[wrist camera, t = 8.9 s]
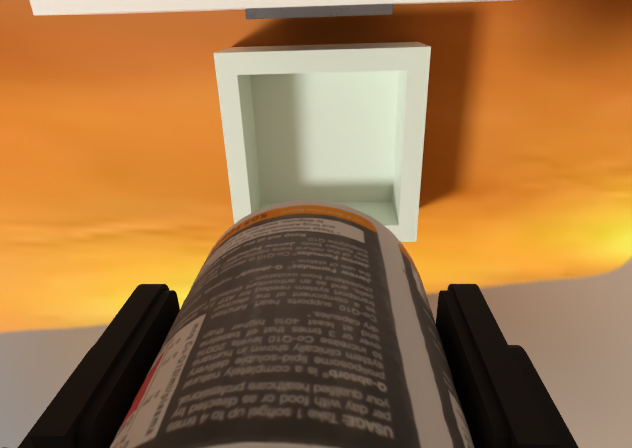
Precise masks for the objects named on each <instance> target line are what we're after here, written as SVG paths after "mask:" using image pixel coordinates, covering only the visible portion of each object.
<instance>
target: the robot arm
mask: <svg viewBox="0 0 632 448" xmlns="http://www.w3.org/2000/svg"><path fill="white" fill-rule="evenodd" d="M179 311H180V308H179V303H178V298H177V294H176V292H175V291H169V288H168V286H167V285H165V284H141V285H139V286H138V287H137V288H136V289H135V290H134V292H133V293H132V294H131V296H130V297H129V299H128V300H127V301H126V303H125V304H124V305H123V307H122V308H121V310H120V311H119V312H118V314H117V315H116V316H115V318H114V319H113V321H112V322H111V323H110V325H109V326H108V327H107V329H106V330H105V331H104V333H103V334H102V336H101V337H100V338H99V340H98V341H97V342H96V344H95V345H94V346H93V347H92V348H91V349H90V350H89V351H88V353H87V354H86V355H85V357H84V358H83V359H82V361H81V362H80V364H79V365H78V366H77V368H76V369H75V371H74V372H73V373H72V374H71V376H70V377H69V379H68V380H67V381H66V383H65V384H64V385H63V387H62V388H61V390H60V391H59V392H58V394H57V395H56V397H55V398H54V399H53V400H52V402H51V403H50V404H49V406H48V407H47V409H46V410H45V411H44V413H43V414H42V416H41V417H40V418H39V419H38V421H37V422H36V424H35V425H34V426H33V428H32V429H31V430H30V432H29V433H28V434H27V436H26V437H25V438H24V440H23V441H22V443H21V444H20V445H19V447H18V448H110V446H111V444H112V443H113V441H114V439H115V437H116V435H117V433H118V431H119V429H120V427H121V425H122V423H123V421H124V419H125V417H126V416H127V414H128V412H129V410H130V408H131V406H132V404H133V402H134V399H135V397H136V395H137V394H138V392H139V390H140V388H141V386H142V385H143V383H144V381H145V379H146V376H147V374H148V373H149V371H150V369H151V367H152V365H153V363H154V361H155V359H156V357H157V355H158V354H159V352H160V350H161V348H162V345H163V343H164V341H165V339H166V337H167V335H168V333H169V331H170V329H171V327H172V325H173V323H174V321H175V319H176V317H177V315H178V313H179ZM436 327H437V330H438V333H439V335H440V338H441V341H442V344H443V348H444V351H445V354H446V358H447V361H448V365H449V368H450V371H451V374H452V378H453V382H454V385H455V389H456V393H457V395H458V398H459V401H460V404H461V407H462V410H463V413H464V416H465V419H466V421H467V424H468V427H469V431H470V434H471V438H472V441H473V445H474V448H578V446H577V444H576V442H575V440H574V438H573V437H572V435H571V433H570V431H569V429H568V428H567V426H566V424H565V422H564V420H563V418H562V417H561V415H560V413H559V411H558V409H557V408H556V406H555V404H554V402H553V400H552V399H551V397H550V395H549V393H548V391H547V389H546V388H545V386H544V384H543V382H542V380H541V379H540V377H539V375H538V373H537V371H536V369H535V368H534V366H533V364H532V362H531V360H530V359H529V357H528V355H527V353H526V352H525V350H524V349H523V348H522V347H521V346H519V345H508V344H507V342H506V340H505V338H504V337H503V334H502V332H501V330H500V328H499V326H498V324H497V322H496V320H495V318H494V316H493V314H492V313H491V311H490V309H489V307H488V305H487V303H486V301H485V299H484V297H483V295H482V293H481V291H480V289H479V287H478V286H477V285H476V284H450V285H449V286H448V290H447V291H440V293H439V298H438V307H437V318H436ZM4 448H5V447H4Z"/></svg>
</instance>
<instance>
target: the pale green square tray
mask: <svg viewBox="0 0 632 448" xmlns="http://www.w3.org/2000/svg"><path fill="white" fill-rule="evenodd" d="M430 54H431V47H430V46H428V45H425V44H423V43H420V42H386V43H352V44H318V45H284V46H250V47H230V48H227V49H224V50H221V51H218V52H215V53H214V60H215V68H216V77H217V85H218V93H219V101H220V109H221V118H222V126H223V134H224V142H225V151H226V159H227V167H228V175H229V184H230V192H231V200H232V208H233V217H234V224H235V223H237V222H238V221H239V220H240V219H242V218H244V217H245V216H247V215H249V214H251V213H253V212H255V211H258V210H260V209H262V208H265V207H267V206H271V205H274V204H277V203H282V202H287V201H294V200H314V201H325V202H331V203H336V204H341V205H346V206H348V207H351V208H353V209H355V210H358V211H360V212H362V213H365V214H367V215H369V216H371V217H372V218H374V219H375V220H377V221H378V222H380V223H381V224H383V225H384V226H385V227H386V228H388V229H389V230H390V231H391V232H392V233H393V234H394V235H395V236H396V237H397V239H398V240H399V241H400V242H416V238H417V225H418V212H419V198H420V185H421V172H422V159H423V146H424V133H425V120H426V106H427V93H428V80H429V67H430Z"/></svg>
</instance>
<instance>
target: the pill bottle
mask: <svg viewBox="0 0 632 448" xmlns="http://www.w3.org/2000/svg"><path fill="white" fill-rule="evenodd" d="M110 448H474V445H473V441H472V438H471V434H470V431H469V427H468V424H467V421H466V419H465V416H464V413H463V410H462V407H461V404H460V401H459V398H458V395H457V393H456V389H455V385H454V382H453V378H452V374H451V371H450V368H449V365H448V361H447V358H446V354H445V351H444V348H443V344H442V341H441V338H440V335H439V333H438V330H437V327H436V324H435V321H434V318H433V314H432V311H431V308H430V305H429V302H428V299H427V296H426V292H425V289H424V287H423V283H422V280H421V278H420V275H419V273H418V271H417V269H416V267H415V264H414V262H413V260H412V258H411V256H410V255H409V253H408V252H407V250H406V249H405V248H404V246H403V245H402V244H401V242H400V241H399V240H398V239H397V237H396V236H395V235H394V234H393V233H392V232H391V231H390V230H389V229H388V228H386V227H385V226H384V225H383V224H381V223H380V222H378V221H377V220H375V219H374V218H372V217H371V216H369V215H367V214H365V213H362V212H360V211H358V210H355V209H353V208H351V207H348V206H346V205H341V204H336V203H331V202H325V201H314V200H294V201H287V202H282V203H277V204H274V205H271V206H267V207H265V208H262V209H260V210H258V211H255V212H253V213H251V214H249V215H247V216H245V217H244V218H242V219H240V220H239V221H238V222H237V223H235V224H234V225H233V226H232V227H231V228H229V229H228V230H227V231H226V232H225V233H224V234H223V235H222V237H221V238H220V239H219V240H218V241H217V243H216V244H215V246H214V247H213V248H212V250H211V252H210V254H209V255H208V257H207V259H206V261H205V263H204V265H203V266H202V268H201V270H200V272H199V274H198V276H197V278H196V280H195V282H194V283H193V285H192V287H191V290H190V292H189V294H188V296H187V298H186V299H185V301H184V303H183V305H182V307H181V309H180V311H179V313H178V315H177V317H176V319H175V321H174V323H173V325H172V327H171V329H170V331H169V333H168V335H167V337H166V339H165V341H164V343H163V345H162V348H161V350H160V352H159V354H158V355H157V357H156V359H155V361H154V363H153V365H152V367H151V369H150V371H149V373H148V374H147V376H146V379H145V381H144V383H143V385H142V386H141V388H140V390H139V392H138V394H137V395H136V397H135V399H134V402H133V404H132V406H131V408H130V410H129V412H128V414H127V416H126V417H125V419H124V421H123V423H122V425H121V427H120V429H119V431H118V433H117V435H116V437H115V439H114V441H113V443H112V444H111V446H110Z"/></svg>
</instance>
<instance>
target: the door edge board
mask: <svg viewBox="0 0 632 448" xmlns="http://www.w3.org/2000/svg"><path fill="white" fill-rule="evenodd" d="M482 1H512V0H30V3H31V7H32V10H33V14H34V15H83V14H127V13H157V12H186V11H216V10H245V12H246V19H271V18H302V17H332V16H363V15H392V13H393V5H394V4H423V3H453V2H482Z"/></svg>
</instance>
